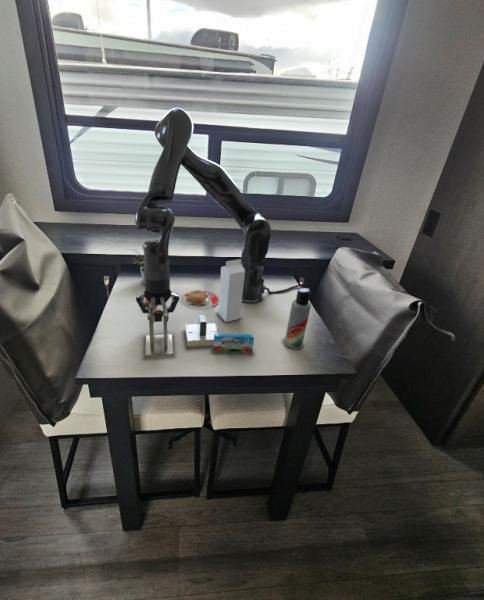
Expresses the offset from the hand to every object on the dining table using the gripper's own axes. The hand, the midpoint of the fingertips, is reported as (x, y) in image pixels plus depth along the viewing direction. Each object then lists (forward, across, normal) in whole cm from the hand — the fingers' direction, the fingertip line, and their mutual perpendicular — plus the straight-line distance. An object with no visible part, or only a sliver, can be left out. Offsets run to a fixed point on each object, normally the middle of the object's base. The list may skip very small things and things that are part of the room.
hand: (158, 322), depth 103 cm
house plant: (+3, +5, -38) cm, 39 cm away
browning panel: (+3, -14, +6) cm, 15 cm away
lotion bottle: (+3, -43, +11) cm, 45 cm away
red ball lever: (-4, 0, +5) cm, 6 cm away
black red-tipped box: (0, -14, +6) cm, 15 cm away
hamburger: (+3, -16, -20) cm, 26 cm away
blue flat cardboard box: (+4, -22, +13) cm, 26 cm away
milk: (+3, -25, -7) cm, 26 cm away
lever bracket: (+3, 0, +9) cm, 9 cm away
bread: (+3, +1, -21) cm, 21 cm away
